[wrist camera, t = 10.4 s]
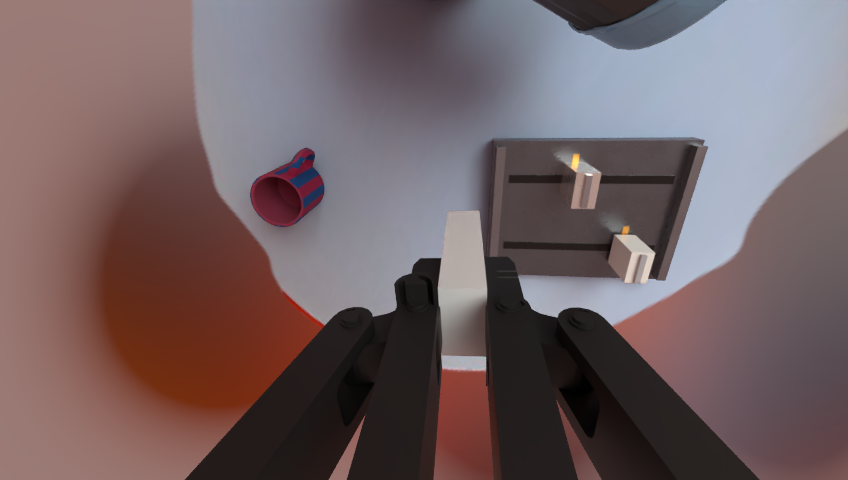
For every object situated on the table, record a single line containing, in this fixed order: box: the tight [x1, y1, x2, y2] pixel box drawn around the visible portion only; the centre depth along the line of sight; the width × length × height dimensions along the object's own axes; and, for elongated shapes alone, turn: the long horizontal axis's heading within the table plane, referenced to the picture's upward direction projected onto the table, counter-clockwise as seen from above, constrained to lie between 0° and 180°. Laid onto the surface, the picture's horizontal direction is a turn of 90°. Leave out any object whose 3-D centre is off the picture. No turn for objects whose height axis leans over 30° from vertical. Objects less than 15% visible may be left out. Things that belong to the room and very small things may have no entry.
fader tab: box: [608, 235, 655, 283], centre depth 42 cm, size 4×2×5 cm, turn 1°
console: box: [486, 138, 708, 281], centre depth 42 cm, size 18×23×7 cm
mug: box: [250, 148, 324, 227], centre depth 44 cm, size 7×10×7 cm
